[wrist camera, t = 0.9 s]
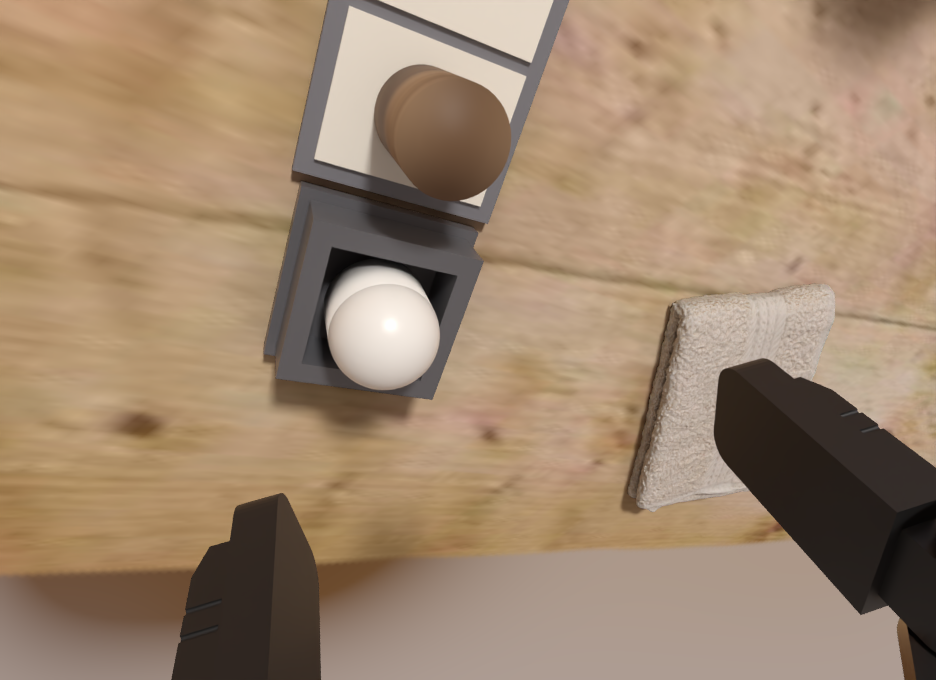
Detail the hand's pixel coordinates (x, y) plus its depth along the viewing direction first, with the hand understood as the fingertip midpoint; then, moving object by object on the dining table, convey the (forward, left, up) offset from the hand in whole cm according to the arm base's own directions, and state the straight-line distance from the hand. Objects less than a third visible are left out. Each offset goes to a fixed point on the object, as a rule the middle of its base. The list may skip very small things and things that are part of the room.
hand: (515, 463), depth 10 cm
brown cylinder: (+2, +3, -20) cm, 21 cm away
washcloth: (+29, -9, -22) cm, 37 cm away
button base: (+2, -6, -21) cm, 22 cm away
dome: (+2, -6, -19) cm, 20 cm away
